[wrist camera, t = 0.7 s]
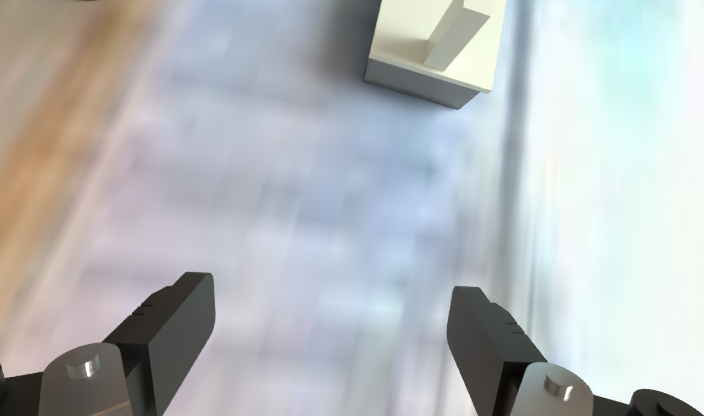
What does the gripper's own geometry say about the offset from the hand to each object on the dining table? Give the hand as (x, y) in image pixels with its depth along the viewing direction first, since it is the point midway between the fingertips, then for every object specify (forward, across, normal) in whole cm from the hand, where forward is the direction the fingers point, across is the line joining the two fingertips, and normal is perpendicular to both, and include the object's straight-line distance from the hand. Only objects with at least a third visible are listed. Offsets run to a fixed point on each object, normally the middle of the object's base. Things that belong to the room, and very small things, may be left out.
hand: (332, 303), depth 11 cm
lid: (+35, -10, -18) cm, 41 cm away
